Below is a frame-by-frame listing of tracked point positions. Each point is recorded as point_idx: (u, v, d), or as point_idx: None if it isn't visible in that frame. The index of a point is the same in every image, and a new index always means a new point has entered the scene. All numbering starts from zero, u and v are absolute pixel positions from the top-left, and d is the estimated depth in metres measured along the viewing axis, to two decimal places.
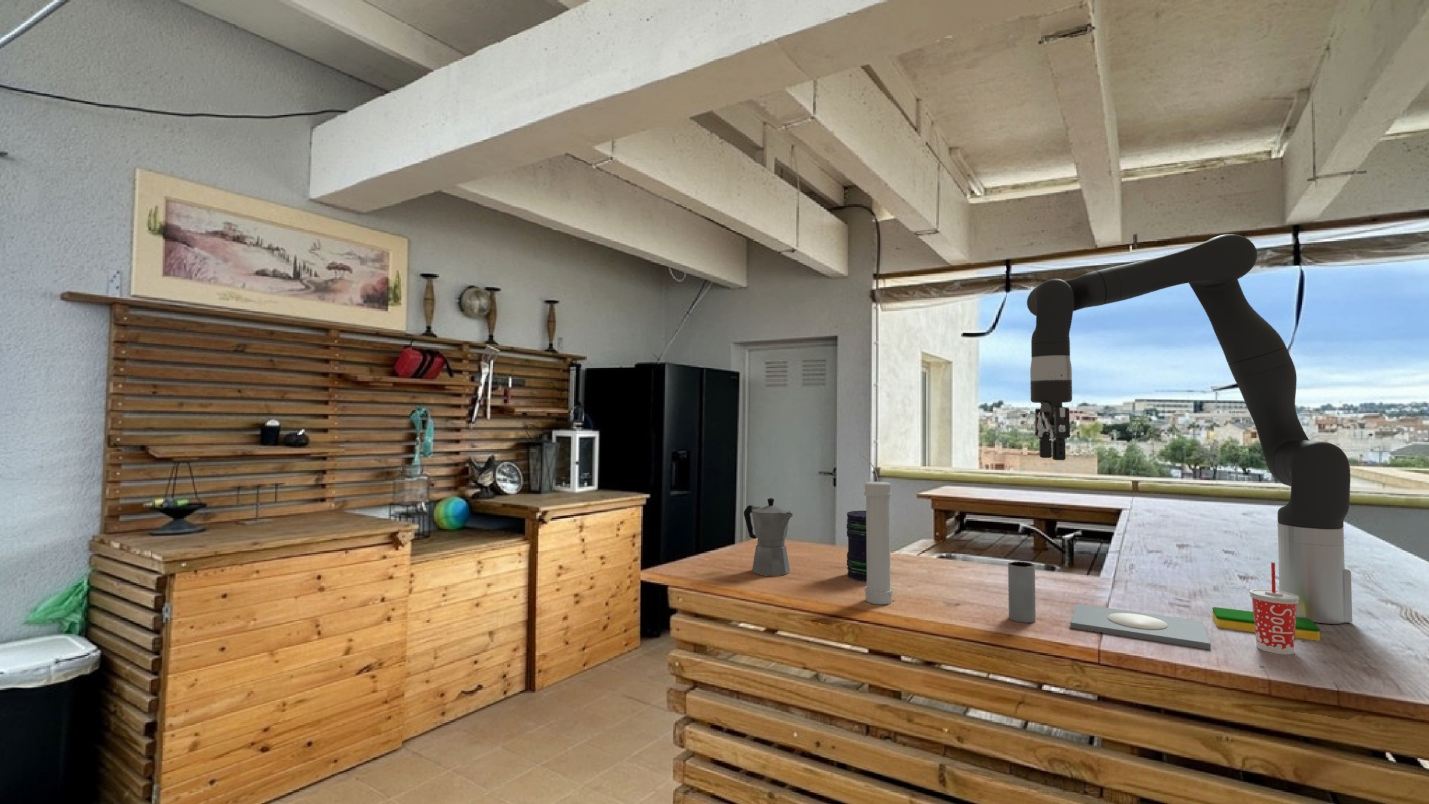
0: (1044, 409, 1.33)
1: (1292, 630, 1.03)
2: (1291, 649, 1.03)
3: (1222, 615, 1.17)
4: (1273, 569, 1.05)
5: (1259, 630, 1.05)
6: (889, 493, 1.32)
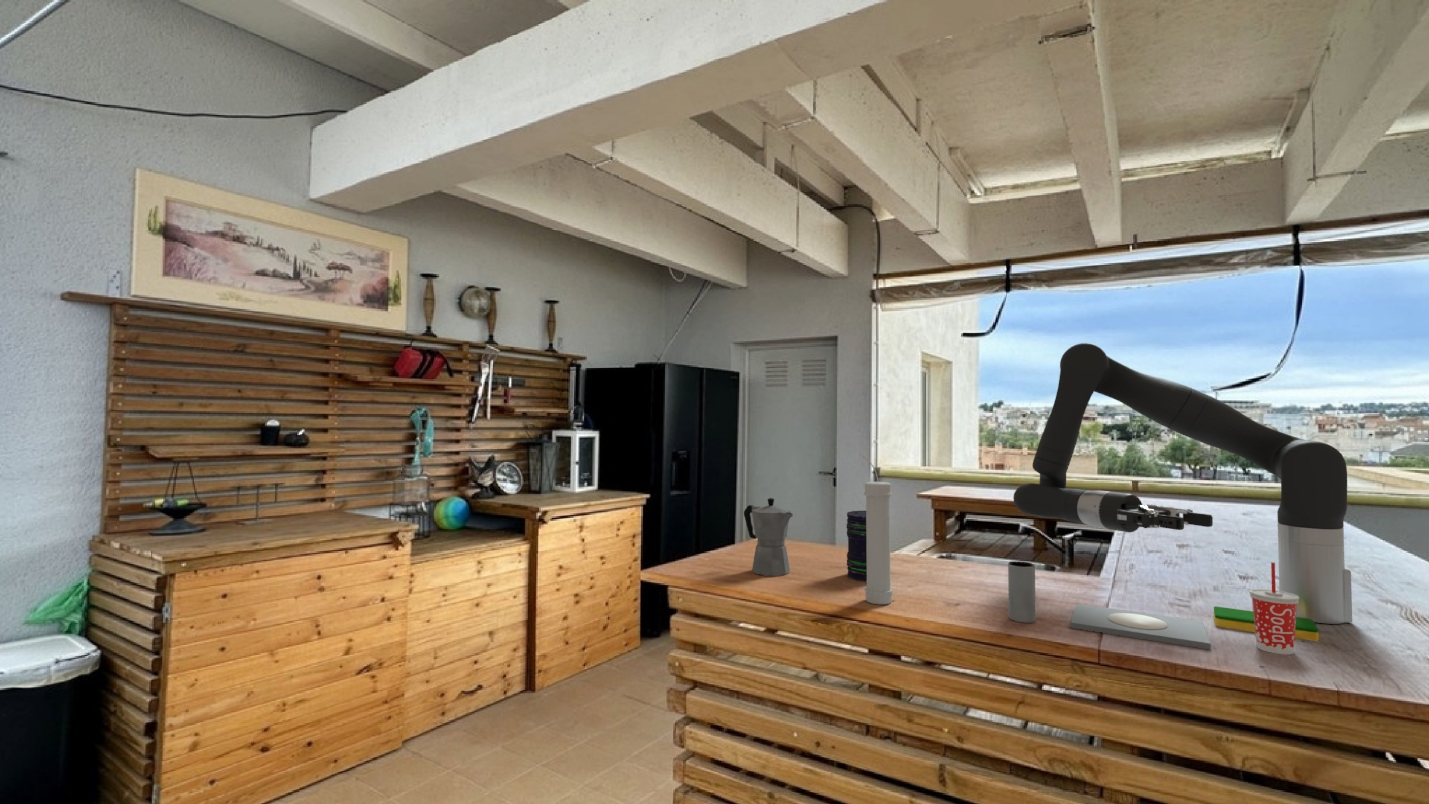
0: None
1: (1292, 630, 1.03)
2: (1291, 649, 1.03)
3: (1221, 614, 1.17)
4: (1273, 569, 1.05)
5: (1259, 630, 1.05)
6: (889, 493, 1.32)
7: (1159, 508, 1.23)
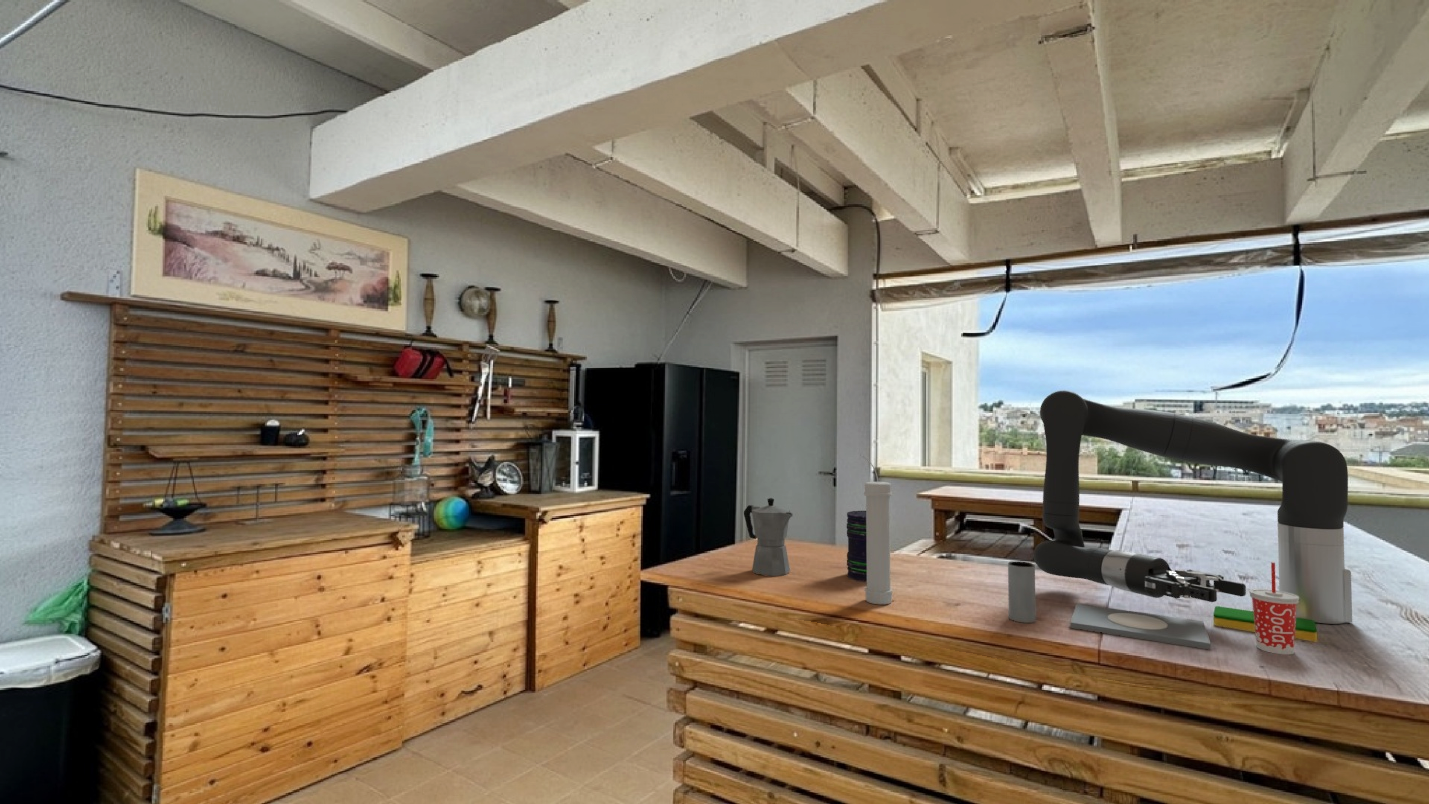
0: None
1: (1292, 630, 1.03)
2: (1291, 649, 1.03)
3: (1219, 614, 1.18)
4: (1273, 569, 1.05)
5: (1259, 630, 1.05)
6: (889, 493, 1.32)
7: (1188, 574, 1.19)
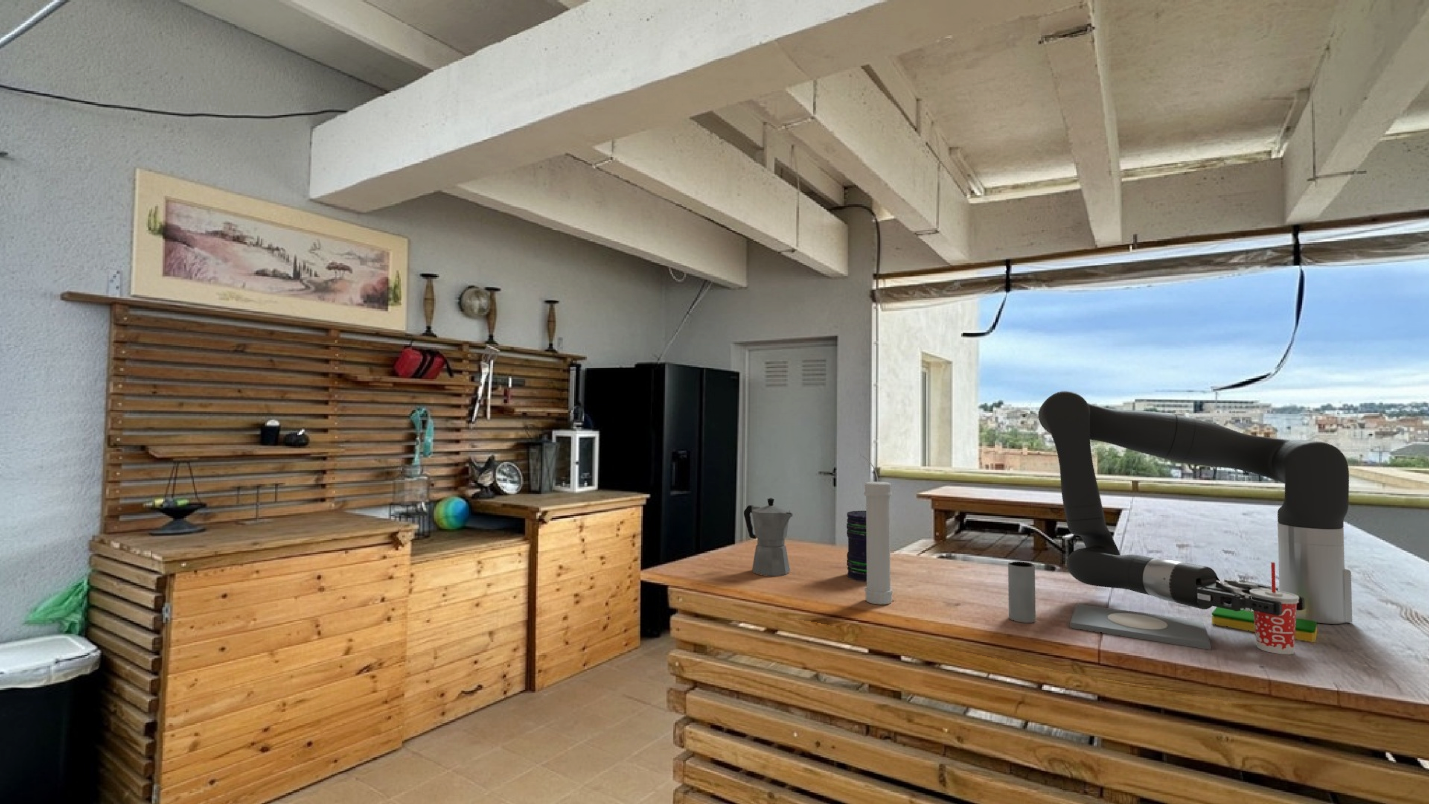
0: None
1: (1292, 630, 1.03)
2: (1291, 649, 1.03)
3: (1218, 612, 1.19)
4: (1273, 569, 1.05)
5: (1259, 630, 1.05)
6: (889, 493, 1.32)
7: (1239, 584, 1.11)
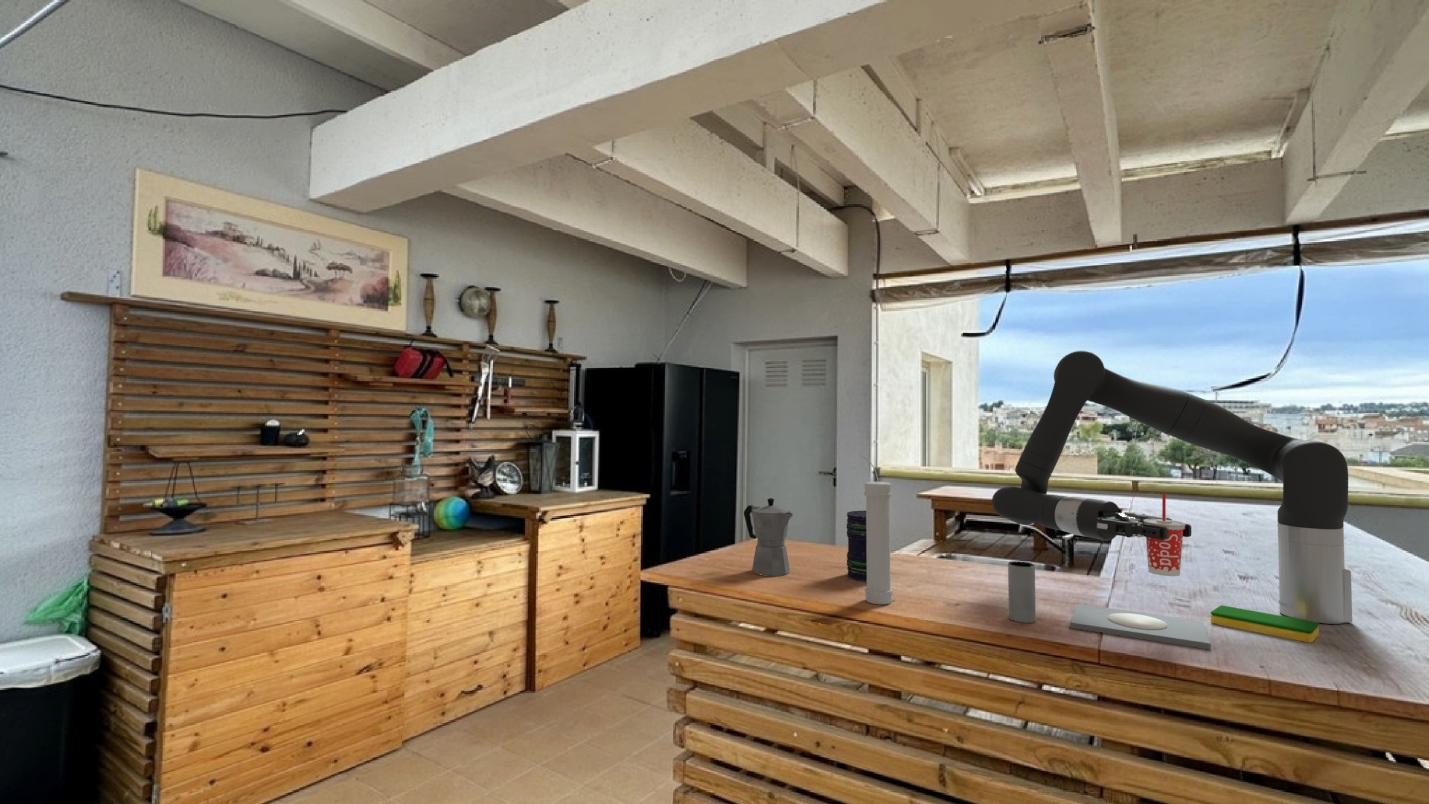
0: None
1: (1178, 554, 1.12)
2: (1176, 571, 1.12)
3: (1217, 612, 1.19)
4: (1164, 499, 1.14)
5: (1149, 555, 1.14)
6: (889, 493, 1.32)
7: (1136, 516, 1.20)
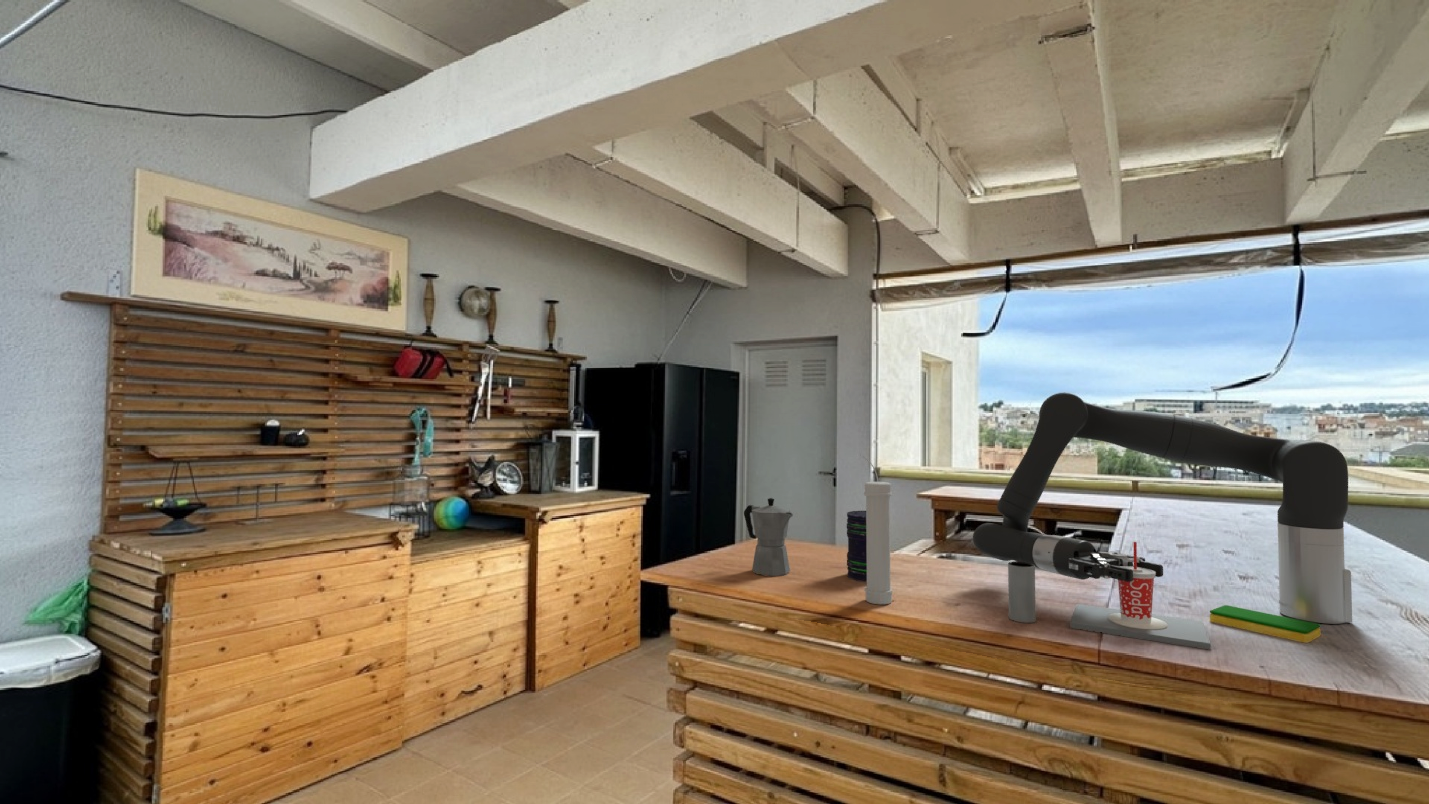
0: None
1: (1149, 602, 1.14)
2: (1148, 619, 1.14)
3: (1216, 610, 1.20)
4: (1135, 548, 1.17)
5: (1121, 603, 1.17)
6: (889, 493, 1.32)
7: (1111, 556, 1.23)
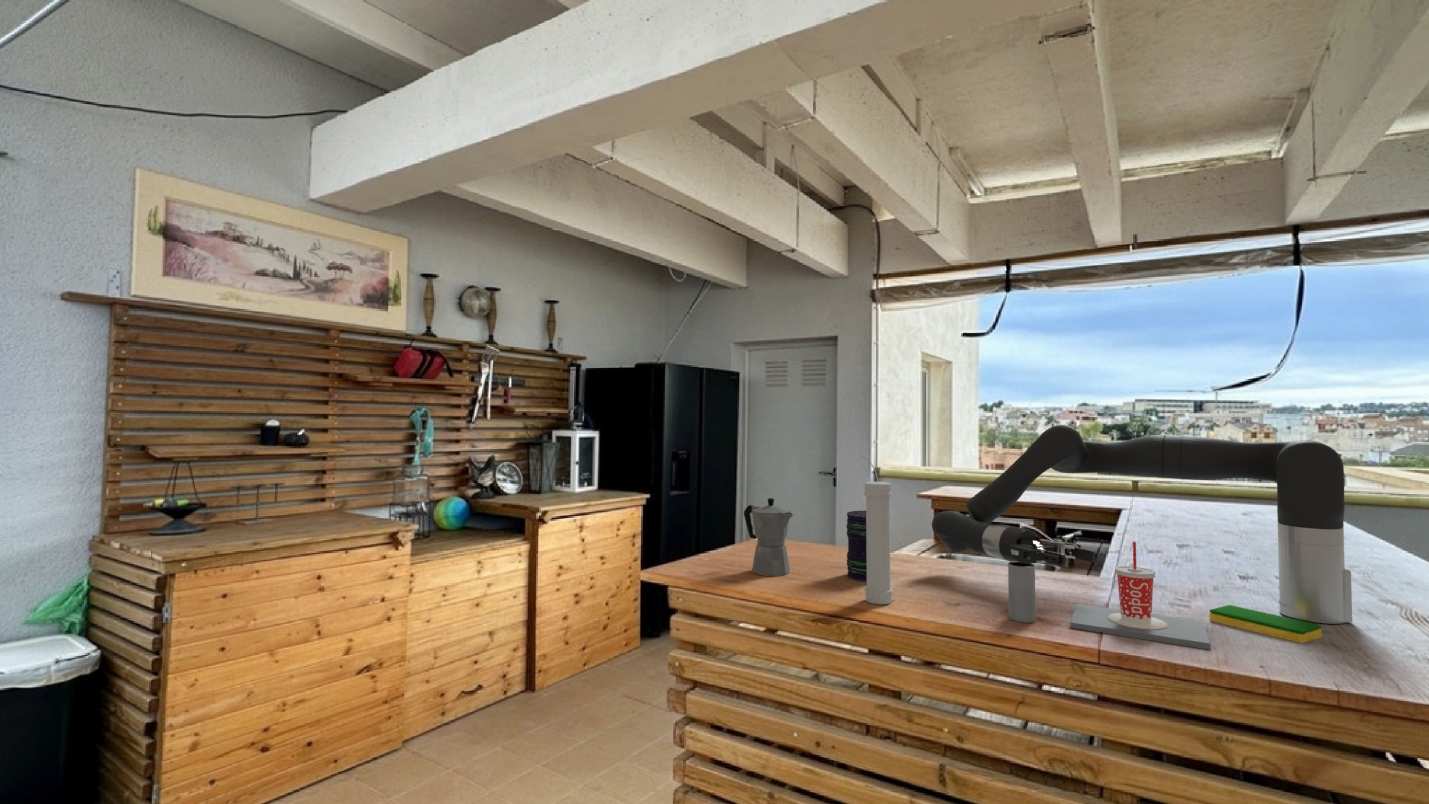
0: None
1: (1148, 602, 1.14)
2: (1148, 619, 1.14)
3: (1216, 610, 1.20)
4: (1134, 548, 1.17)
5: (1121, 603, 1.17)
6: (889, 493, 1.32)
7: (1050, 543, 1.34)
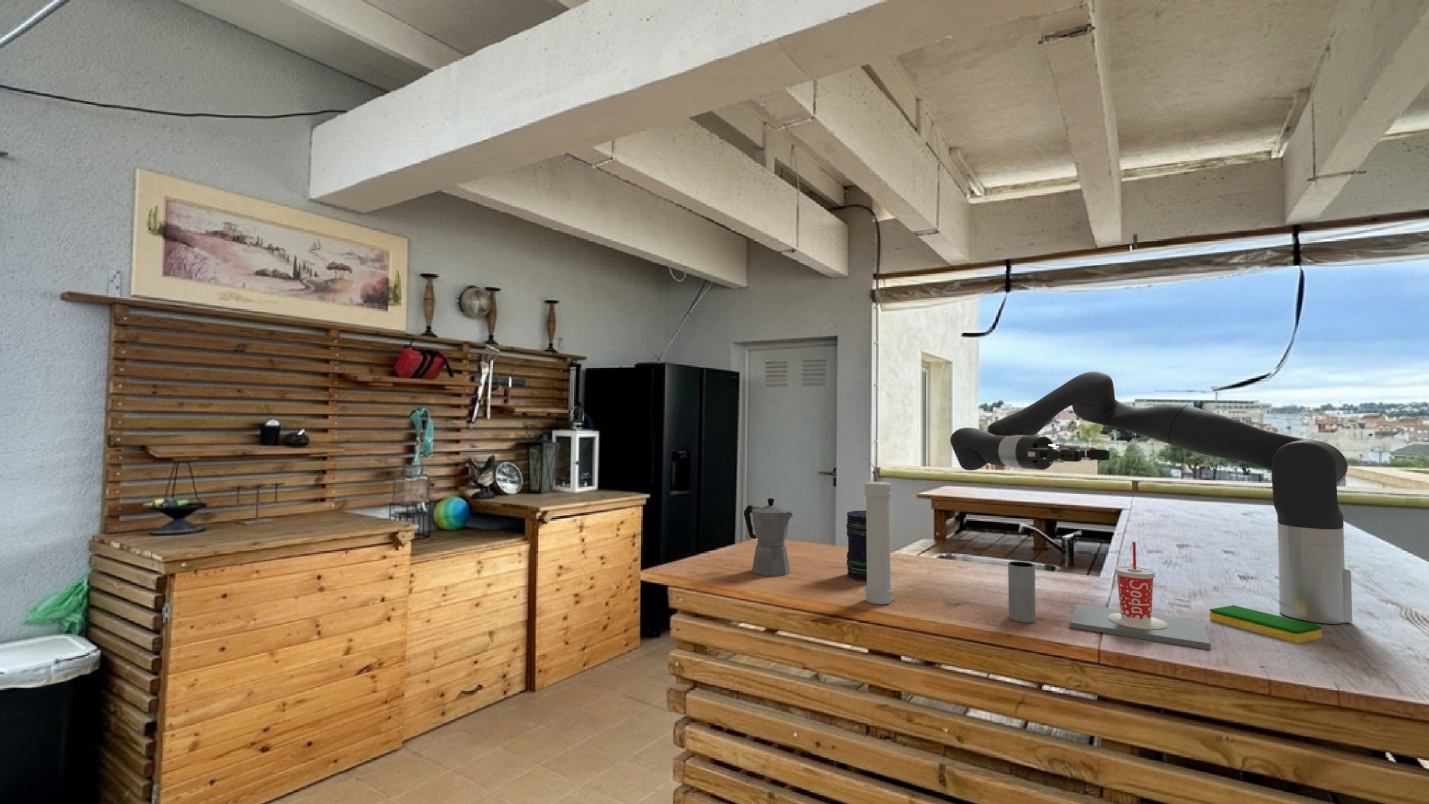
0: None
1: (1148, 602, 1.14)
2: (1148, 619, 1.14)
3: (1216, 609, 1.21)
4: (1134, 548, 1.17)
5: (1121, 603, 1.17)
6: (889, 493, 1.32)
7: (1066, 446, 1.38)
